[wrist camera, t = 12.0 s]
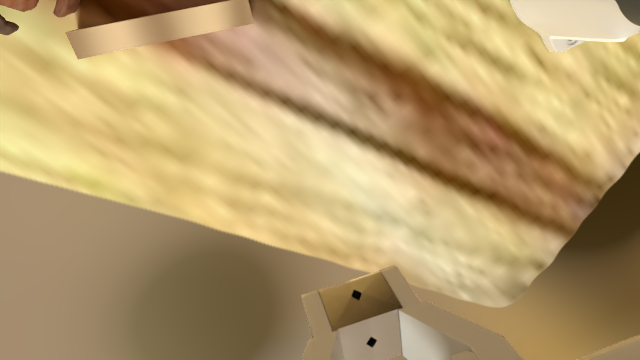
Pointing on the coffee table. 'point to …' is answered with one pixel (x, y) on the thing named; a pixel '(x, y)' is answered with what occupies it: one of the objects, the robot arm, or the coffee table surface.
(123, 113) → the coffee table surface
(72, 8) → the broken brown clay pot
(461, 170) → the coffee table surface
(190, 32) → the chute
